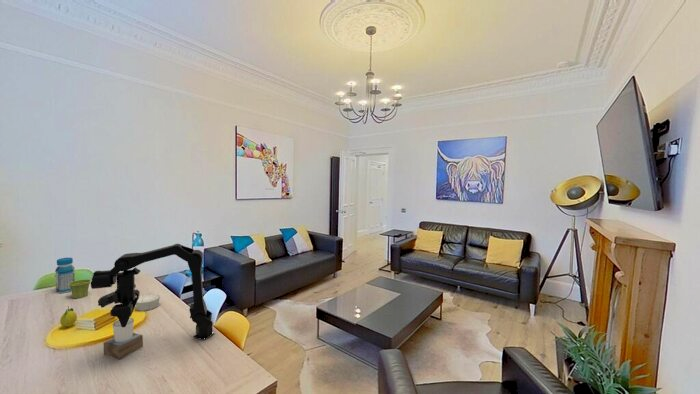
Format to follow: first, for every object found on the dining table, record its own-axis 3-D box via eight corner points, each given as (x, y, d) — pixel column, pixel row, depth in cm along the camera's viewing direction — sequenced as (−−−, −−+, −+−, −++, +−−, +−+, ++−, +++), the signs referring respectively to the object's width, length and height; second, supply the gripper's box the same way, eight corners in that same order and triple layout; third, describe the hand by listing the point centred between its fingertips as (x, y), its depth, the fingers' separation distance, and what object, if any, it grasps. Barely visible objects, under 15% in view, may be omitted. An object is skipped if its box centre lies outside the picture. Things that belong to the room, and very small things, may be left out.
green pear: (65, 331, 126) (64, 310, 125) (55, 329, 127) (54, 308, 126) (82, 324, 132) (81, 303, 132) (72, 322, 134) (72, 302, 133)
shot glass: (122, 344, 110) (121, 327, 109) (108, 341, 111) (107, 324, 110) (138, 334, 116) (138, 318, 116) (125, 332, 118) (124, 316, 117)
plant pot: (93, 295, 163) (93, 281, 162) (71, 301, 155) (71, 286, 154) (88, 291, 168) (88, 278, 167) (66, 297, 160) (66, 282, 159)
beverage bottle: (65, 293, 164) (64, 261, 163) (51, 293, 164) (50, 260, 163) (79, 288, 172) (78, 257, 171) (66, 287, 172) (65, 256, 171)
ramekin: (130, 309, 148) (129, 299, 148) (151, 301, 159) (151, 292, 158) (143, 313, 144) (143, 304, 144) (164, 305, 155) (164, 296, 154)
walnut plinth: (142, 346, 117) (142, 334, 117) (119, 359, 108) (119, 346, 108) (127, 342, 119) (127, 330, 119) (103, 354, 111) (103, 341, 110)
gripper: (107, 280, 117) (108, 315, 118) (92, 297, 101) (93, 338, 102) (139, 276, 123) (140, 310, 124) (130, 292, 106) (130, 331, 107)
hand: (126, 321), depth 114 cm, fingers open, 9 cm apart
